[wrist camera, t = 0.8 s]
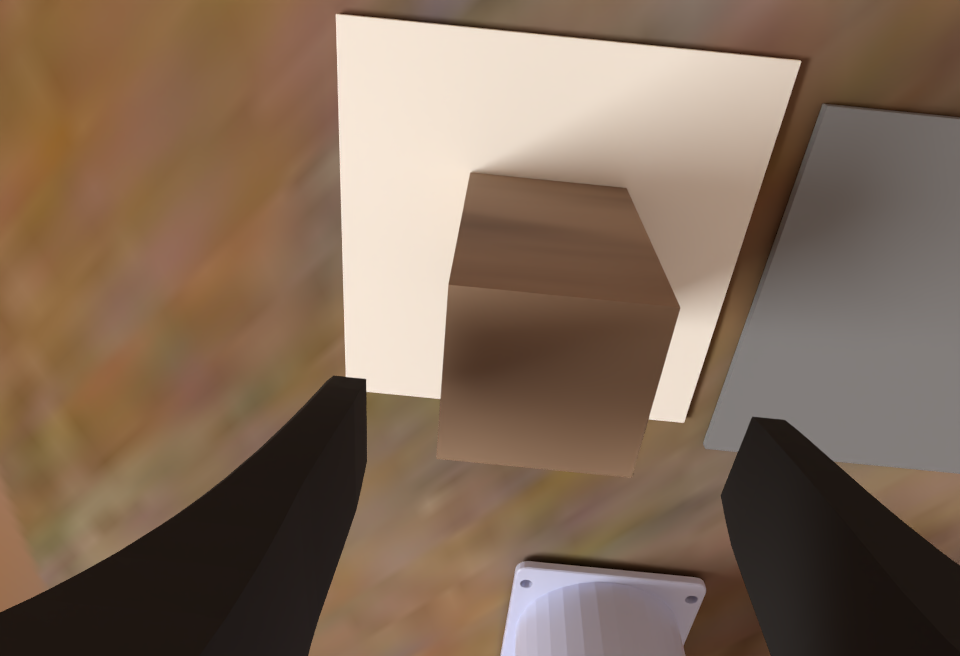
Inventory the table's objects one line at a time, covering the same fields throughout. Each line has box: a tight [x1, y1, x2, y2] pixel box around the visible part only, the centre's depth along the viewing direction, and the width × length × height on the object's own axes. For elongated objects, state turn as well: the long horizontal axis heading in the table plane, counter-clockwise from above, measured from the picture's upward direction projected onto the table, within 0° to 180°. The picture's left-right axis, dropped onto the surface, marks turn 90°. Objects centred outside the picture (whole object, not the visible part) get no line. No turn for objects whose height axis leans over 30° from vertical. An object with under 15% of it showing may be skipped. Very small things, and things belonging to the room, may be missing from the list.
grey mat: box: [703, 104, 960, 474], centre depth 20 cm, size 12×12×1 cm
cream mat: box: [336, 14, 801, 423], centre depth 20 cm, size 12×12×1 cm
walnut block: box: [436, 172, 680, 478], centre depth 17 cm, size 4×4×7 cm
